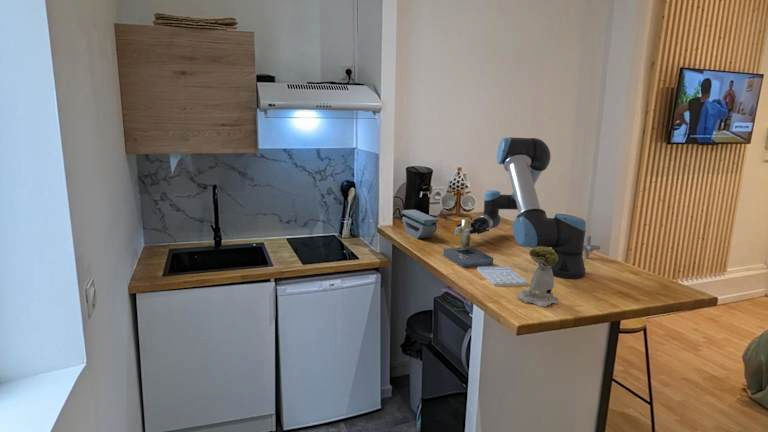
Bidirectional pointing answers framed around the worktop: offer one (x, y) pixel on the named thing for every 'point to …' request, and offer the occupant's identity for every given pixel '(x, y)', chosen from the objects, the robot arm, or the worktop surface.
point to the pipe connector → (589, 247)
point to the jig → (468, 257)
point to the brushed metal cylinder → (464, 226)
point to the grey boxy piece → (419, 224)
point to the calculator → (502, 276)
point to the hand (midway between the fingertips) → (460, 232)
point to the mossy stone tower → (541, 278)
